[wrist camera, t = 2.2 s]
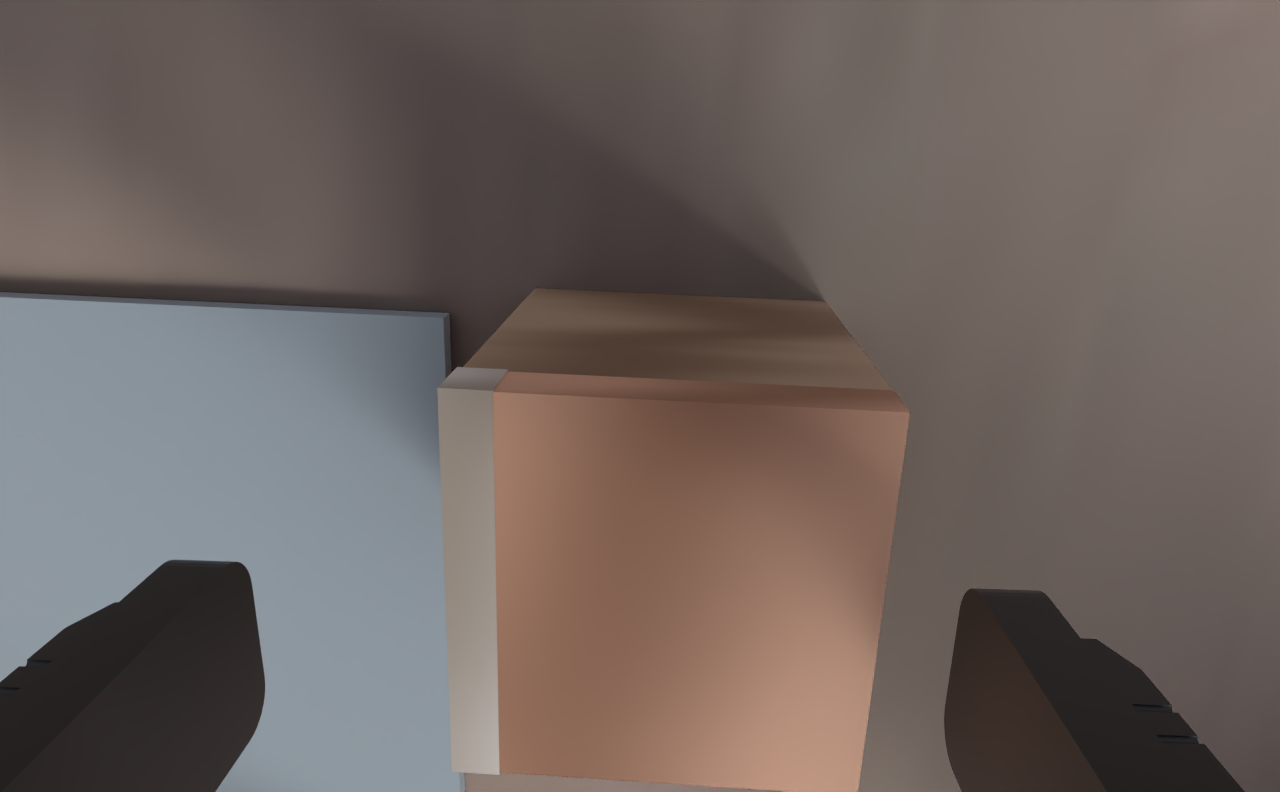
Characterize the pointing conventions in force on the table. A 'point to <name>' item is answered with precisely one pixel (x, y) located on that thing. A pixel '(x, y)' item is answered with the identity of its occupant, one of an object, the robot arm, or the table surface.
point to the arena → (244, 507)
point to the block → (667, 541)
